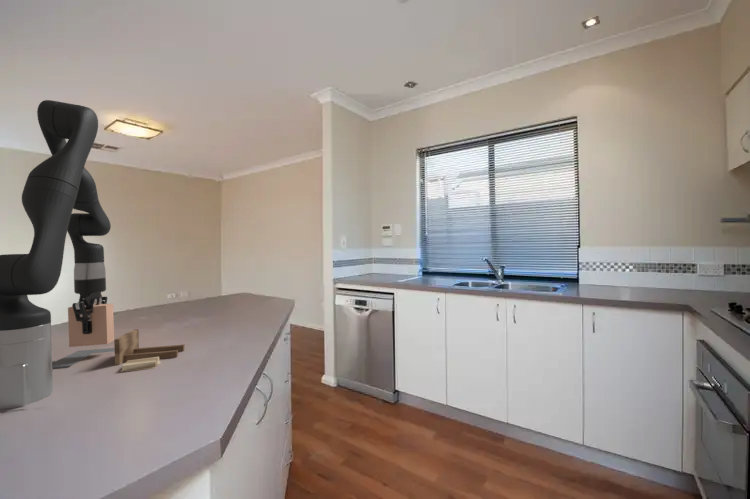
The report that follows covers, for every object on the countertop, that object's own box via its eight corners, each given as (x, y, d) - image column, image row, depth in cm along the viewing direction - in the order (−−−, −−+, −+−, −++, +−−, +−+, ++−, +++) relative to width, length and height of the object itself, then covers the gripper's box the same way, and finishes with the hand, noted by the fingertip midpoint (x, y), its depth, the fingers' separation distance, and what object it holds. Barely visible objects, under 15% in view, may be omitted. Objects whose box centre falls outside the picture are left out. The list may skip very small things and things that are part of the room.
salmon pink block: (107, 344, 103) (106, 305, 102) (69, 347, 100) (67, 307, 100) (114, 340, 106) (113, 303, 106) (77, 343, 104) (76, 305, 104)
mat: (107, 363, 97) (107, 362, 97) (42, 369, 94) (41, 367, 94) (133, 347, 113) (133, 346, 113) (78, 352, 109) (78, 350, 109)
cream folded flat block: (154, 373, 91) (153, 368, 91) (120, 376, 89) (120, 371, 89) (161, 366, 96) (160, 361, 96) (129, 370, 94) (129, 364, 94)
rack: (174, 362, 98) (173, 335, 98) (115, 367, 94) (114, 339, 94) (187, 349, 110) (186, 325, 110) (134, 354, 106) (134, 329, 106)
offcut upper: (155, 366, 92) (155, 361, 92) (122, 371, 89) (122, 365, 89) (159, 361, 96) (159, 356, 96) (127, 365, 93) (127, 360, 93)
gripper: (90, 279, 97) (92, 337, 97) (116, 274, 111) (117, 325, 111) (59, 280, 95) (61, 339, 96) (90, 275, 109) (91, 327, 109)
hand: (91, 331), depth 103 cm, fingers closed on salmon pink block, 4 cm apart
